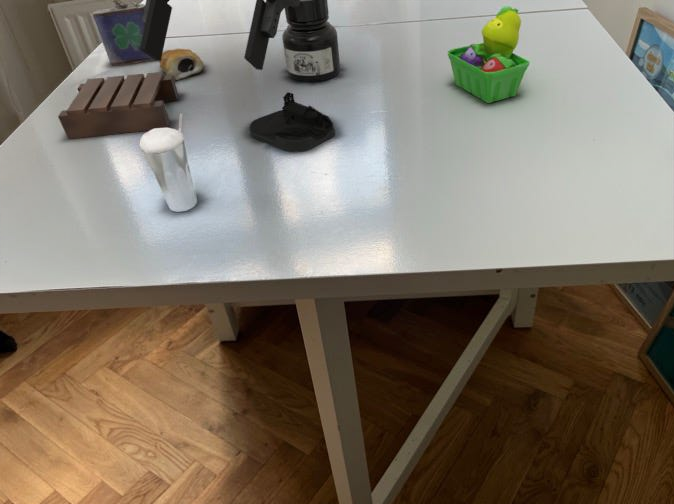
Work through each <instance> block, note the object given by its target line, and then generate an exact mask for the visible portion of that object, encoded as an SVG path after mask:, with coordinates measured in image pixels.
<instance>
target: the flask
mask: <svg viewBox="0 0 674 504" xmlns="http://www.w3.org/2000/svg"><path fill="white" fill-rule="evenodd" d="M111 2H112V5H113V6H114V7H111V8H105V9H103V8H101V9H98V10H95V11H93V12H92V18H93V20H94V22H95V25H96V28H97V30H98V33H99V35H100V38H101V41H102V45H103V47H104V49H105V52H106V55H107V58H108V61H109V64H110V65H111V66H112V67H113V66H124V65H130V64H137V63H140V62H146V61H150V62H151V61H155V60H154V59H153V58H151V57H150V56H148V55H147V54H146V53H144V52H143V51H141V50H140V45H141V41H142V36H143V32H144V27H145V24H143V20H142V18H143V14H144V8H145V4H144V3H137V2H132V4H131V3H130V2H129V3H126V2H124V1H121V0H111Z"/></svg>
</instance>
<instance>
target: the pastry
mask: <svg viewBox="0 0 674 504" xmlns="http://www.w3.org/2000/svg"><path fill="white" fill-rule="evenodd" d="M159 67H160V69H161V70H162V72H163V73H165V75H173V77H174V81H180V80H183V79H186V78H188V77H190V76H192V75H197V74H199V73H201V72H202V71H203V68H204V62H203V60H202V59H201V57H200V56H199V55H198V54H197V53H195V52H193V50H192V49H189V48H187V49H186V48H179V47H178V48H175V49H167V50H165V51H163V53H162V57H161V61H159Z"/></svg>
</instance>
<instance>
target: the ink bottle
mask: <svg viewBox="0 0 674 504" xmlns="http://www.w3.org/2000/svg"><path fill="white" fill-rule="evenodd" d="M328 3H329V2H328V0H300V4H299V6H297V7H292V6H288V7H285V8H284V13H285V21H286V23H287V24H288V25H287V26H286V28H285V29H284V30H283V32H282V36H281V38H282V48H283V55H284V59H285V66H286V69H287V70H286V71H287V74H288V76H289V77H290V78H291V79H293V80H296V81H301V82H321V81H325V80H329V79H331V78H333V77H335V76H336V75H338V74H339V72H340V70H341V61H340V49H339V39H338V32H337V29H336V28H335V26H334V25H332V24H331V23H330V22H329V21H328V20H329V19H330V16H329V14H330V13H329V5H328Z"/></svg>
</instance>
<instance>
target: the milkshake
mask: <svg viewBox="0 0 674 504" xmlns="http://www.w3.org/2000/svg"><path fill="white" fill-rule="evenodd" d="M178 117H179V118H178V129H175V128H171V127H169V128H167V127H166V128H154V129H152V130H149V131H146V132H145V133H143V134H142V135H141V136H140V140H139V144H138V145H139V148H140V150H141V152H142V153H143V156H144V158H145V160H146V162H147V164H148V166H149V168H150V170H151V171H152V173H153V175H154V177H155V180H156V182H157V184H158V186H159V188H160V191H161V193H162V195H163V197H164V199H165V202H166V204H167V206H168V208H169V210H170V211H171V212H172V211H173V212H177V213H180V212H181V213H182V212H188V211H189V210H192V209H193V208H195V207H196V204H197V203H198V199H197V194H196V190H195V186H194V185H195V184H194V181H193V176H192V172H191V167H190V162H189V158H188V153H187V148H186V143H185V137H184V134H183V133H182V124H183V113H181V112H179V116H178Z"/></svg>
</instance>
